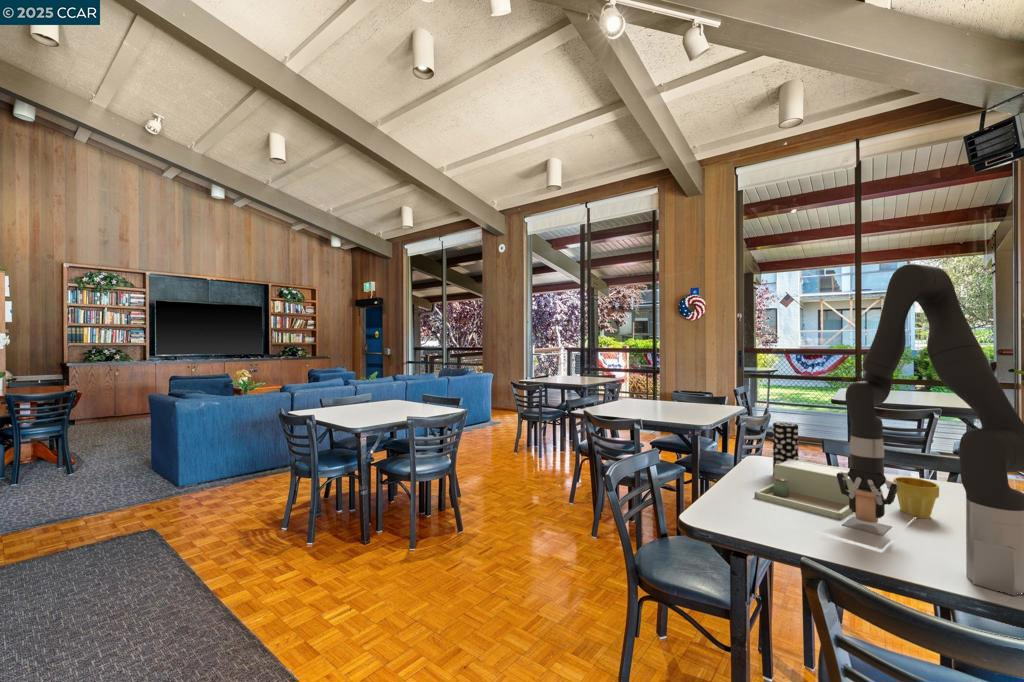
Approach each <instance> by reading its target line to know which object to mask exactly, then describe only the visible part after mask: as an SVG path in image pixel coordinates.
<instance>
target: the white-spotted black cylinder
mask: <svg viewBox="0 0 1024 682" xmlns="http://www.w3.org/2000/svg"><path fill="white" fill-rule="evenodd" d="M788 459H793V460H798V461H799V424H796V423H791V422H781V421H780V422H772V475H774V467H775V464H780V463H783V462H785V461H788Z"/></svg>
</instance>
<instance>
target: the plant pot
mask: <svg viewBox="0 0 1024 682" xmlns="http://www.w3.org/2000/svg"><path fill="white" fill-rule="evenodd" d="M892 482H897V483H898V484H899V486H898V490H897V493H896V496H897V497H896V498H897V501H898V504H899V505H898V506H899V511H901V512H904V513H906V514H909V515H913V518H915V517H917V518H916V519H923V518H927V519H929V517H930V518H931V516H932V512H933V509H934V505H935V503H936V500H937V499H938V498H939V497H940V485H939V484H938V483H936V482H933V481H930V480H927V479H923V478H916V477H908V476H907V477H906V476H897V477H894V478H893V480H892Z"/></svg>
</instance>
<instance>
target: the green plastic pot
mask: <svg viewBox="0 0 1024 682" xmlns="http://www.w3.org/2000/svg"><path fill="white" fill-rule="evenodd" d="M773 483H774V490H773V494H774V495H776V496H779V497H789V480H788V479H786V478H781V477H775V478H773Z"/></svg>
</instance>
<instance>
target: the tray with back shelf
mask: <svg viewBox="0 0 1024 682" xmlns="http://www.w3.org/2000/svg"><path fill="white" fill-rule="evenodd" d="M849 470H850V469H847V468H841V467H836V466H832V465H824V464H819V463H815V462H810V461H803V460H799V459H798V460H793V459H788V461H785V462H783V463H780V464H775V467H774V476H773V477H774V478H775V477H781V478H786V479H788V480H789V497H779V496H776V495H774V494H773V490H774V482H773V483H772V484H769V485H768V486H765V487H763V488H761V489H759V490H756V491H754V498H755V499H759V500H762V501H766V502H771V503H774V504H778V505H782V506H786V507H790V508H794V509H798V510H802V511H805V512H810V513H814V514H818V515H821V516H825V517H827V518H828V517H830V518H833V519H836V520H843V519H844V518H846V517H847V516H848V515H850V514H851V513H852V509H850V508H849V497H848V496H846V495H843V494H842V493H841V490H840V486H839V482H838V479H837V473H839V472H843V473H848V472H849ZM774 478H773V479H774ZM846 482H847V486H848V489H849V491H851V489H852V487H853V485H854V483H853V482H852V480H851V479H850V478H849V476H848V479H847V480H846Z"/></svg>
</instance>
